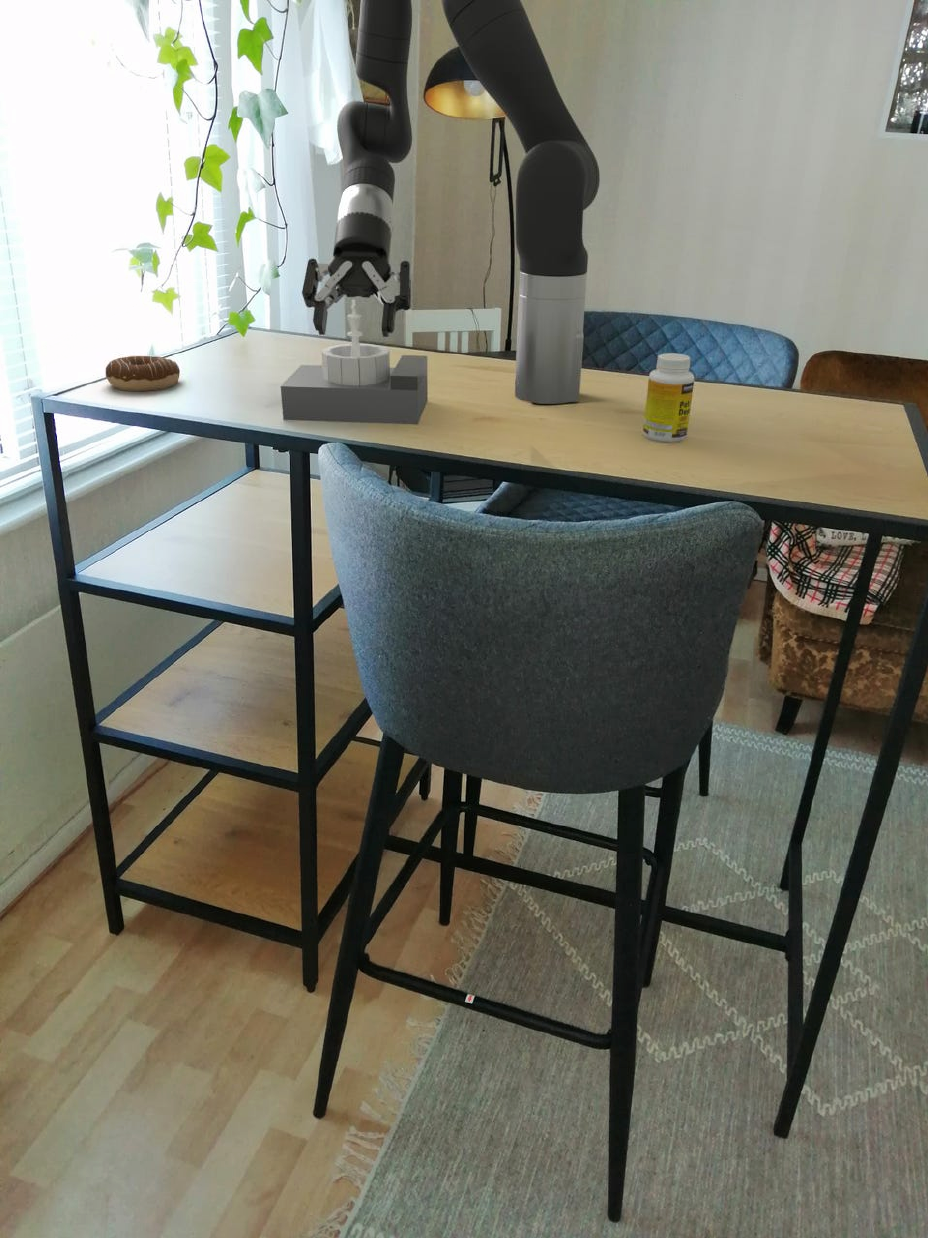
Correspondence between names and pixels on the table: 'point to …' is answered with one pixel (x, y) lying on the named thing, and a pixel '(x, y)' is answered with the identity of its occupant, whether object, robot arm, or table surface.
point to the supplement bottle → (669, 399)
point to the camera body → (357, 388)
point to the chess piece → (354, 330)
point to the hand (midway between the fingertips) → (353, 332)
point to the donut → (142, 373)
